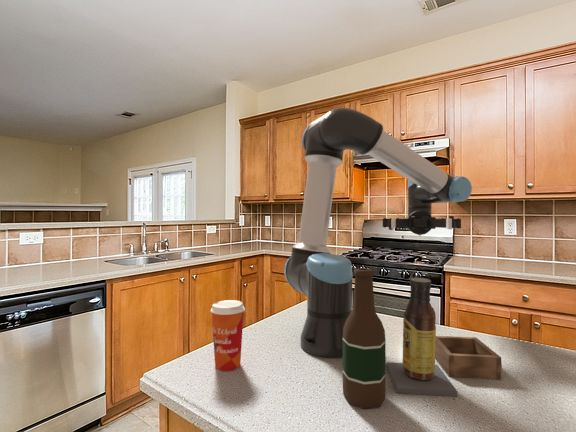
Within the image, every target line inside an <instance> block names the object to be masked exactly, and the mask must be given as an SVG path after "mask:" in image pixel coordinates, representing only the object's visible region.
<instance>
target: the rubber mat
mask: <svg viewBox="0 0 576 432" xmlns="http://www.w3.org/2000/svg"><path fill="white" fill-rule="evenodd" d="M386 370H387V372H388V375H389V377H390V379H391V381H392V385H393V386H394V387H393V388H394V389H395V391H396V393H397V394H412V395H425V396H427V395H428V396H441V397H442V396H445V397H458V390H457V389H456V388H455V386H454V385H453V384H452V381H450V380H449V378H448V377H447V375H446V373H444V372H443V369H441V368H440V365H439V364H435V371H434V376H433V378H432V379H430V380H418V379H414V378H411V377H408V376H407V375H406V374H405V372H404V370H403V362H394V361H392V362H391V361H388V362H387V361H386Z"/></svg>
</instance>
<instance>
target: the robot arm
mask: <svg viewBox="0 0 576 432" xmlns="http://www.w3.org/2000/svg"><path fill="white" fill-rule="evenodd" d="M301 137H302V138H301V145H302V148H303V150H304V151H305V152H304V160H305V162H306V163H307V164H308V167H307V168H308V169H307V174H306V175H307V176H306V183H305V189H304V197H303V204H302V210H301V211H302V212H301V219H300V226H299V234H298V240H297V242H296V243H295V244H294V245H292V248H291V255H290V256H289V258H288V259H287V260H286V262H285V264H284V269H283V271H284V274H283V275H284V277H285V280H286V283H288V285H289V286H290V287H291V288H292V289H293V290H294V291H296V292H298V293H300V294H302V295H304V296H306V298H307V300H306V301H307V303H306V304H307V305H306V306H307V307H306V308H307V309H306V310H307V311H306V318H305V322H304V325H303V327H302V331H301V334H300V347H301V349H302V350H303V351H305V352H307V353H308V354H311V355H313V356H317V357H322V358H343V327H344V325H345V322H346V319H347V318H348V317H349V315H350V314H351V312H352V308H353V277H354V271H353V267H352V261H350V259H348V258H347V257H345V256H343V255H340V254H335V253H331V249H329V247H328V246H327V241H328V235H329V227H330V218H331V212H332V204H333V198H334V189H335V183H336V182H335V181H336V173H337V169H338V167H340V166H341V165H343V159H344V153H345V152H344V151H345V150H351V151H354V152H357V153H358V154H359V155H362V156H366V155H368V156H370V157H371V158H373V159H375V160H377V161H378V162H380V163H381V164H383V165H385V166H386V167H387V168H389V169H391V170H392V171H395V172H396V173H397V174H399V175H401V176H402V177H404V178H406V179H407V180H408V184H407V185H408V186H407V216H405V217H404V218H400V217H397V218H396V217H390V218H387V217H383V218H382V228H388V230H389V231H392V230H394V229H396V228H405V229H408V230H409V231H410V232H411V233H412V234H415V235H418V236H422V235H423V236H424V235H426V234H427V233H429V232H430V231H431V230H436V228H438V229H439V228H443V229H447V230H452V229H462V219H461V218H458V217H457V218H455V217H454V215H451V216H449V218H448V217H447V218H436V216H432V204H442V203H443V204H444V203H445V204H446V203H447V204H448V203H454V204H455V203H458V202H459V203H460V202H465V201H466V200H468V199H469V198H470V196H471V194H472V192H473V187H472V183H471V181H470V179H468V177H465V176H457V175H456V176H453V175H450V174H449V173H448V172H446V171H444V170H443V169H442V168H440V167H438V166H437V165H435V164H434V163H432V162H431V161H430V160H428V159H426V158H425V157H424V156H422V155H421V154H419V153H417V151H415V150H413V149H412V148H410V147H409V146H408V145H406V144H404V143H403V142H402V141H400V140H398V138H395V137H394V136H392V135H391V134H389V133H388V132H386V131H385V129H384V125H383V124H382V123H380V122H379V121H377V120H376V119H374V118H373V117H370V116H369V115H367V114H365V113H363V112H361V111H358V110H357V109H353V108H349V107H337V108H333V109H331V110H330V111H327V113H325V114H324V115H322V116H320V117H319V118H317V119H315V120H313V121H312V122H310V124H308V126H307V127H306V128H305V130H304V132H303V134H302V136H301Z"/></svg>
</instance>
